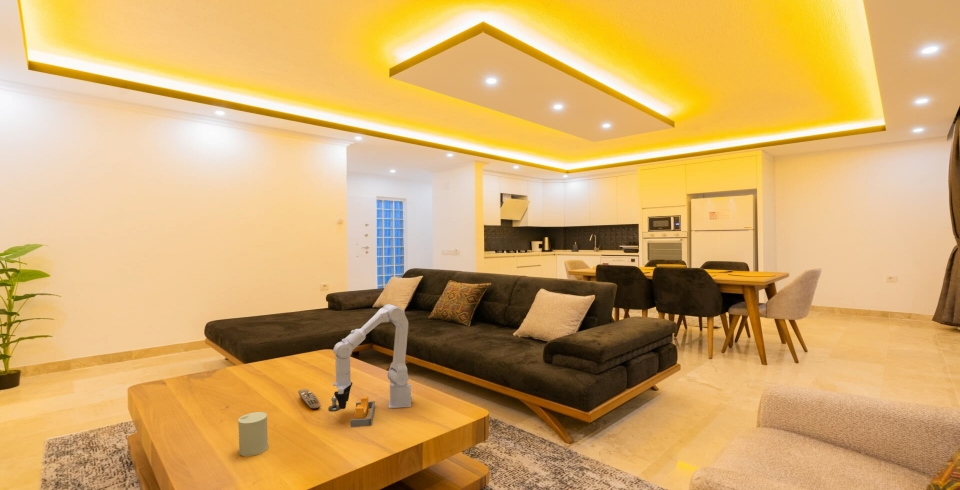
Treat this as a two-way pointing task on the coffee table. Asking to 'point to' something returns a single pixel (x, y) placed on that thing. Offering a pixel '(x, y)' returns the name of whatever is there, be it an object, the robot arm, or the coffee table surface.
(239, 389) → the coffee table surface
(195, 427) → the coffee table surface
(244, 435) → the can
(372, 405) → the u-shaped bracket
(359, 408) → the pipe clamp
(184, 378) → the coffee table surface
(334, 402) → the ball stud
